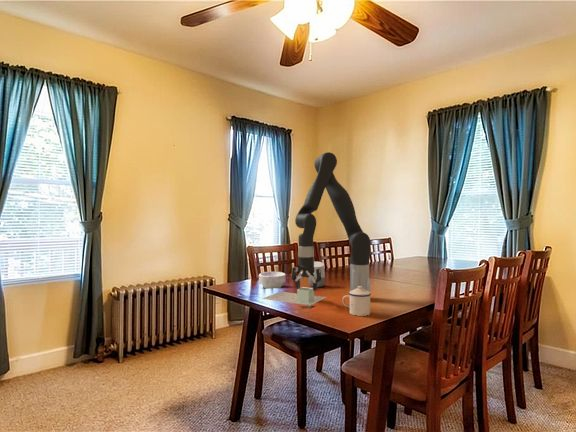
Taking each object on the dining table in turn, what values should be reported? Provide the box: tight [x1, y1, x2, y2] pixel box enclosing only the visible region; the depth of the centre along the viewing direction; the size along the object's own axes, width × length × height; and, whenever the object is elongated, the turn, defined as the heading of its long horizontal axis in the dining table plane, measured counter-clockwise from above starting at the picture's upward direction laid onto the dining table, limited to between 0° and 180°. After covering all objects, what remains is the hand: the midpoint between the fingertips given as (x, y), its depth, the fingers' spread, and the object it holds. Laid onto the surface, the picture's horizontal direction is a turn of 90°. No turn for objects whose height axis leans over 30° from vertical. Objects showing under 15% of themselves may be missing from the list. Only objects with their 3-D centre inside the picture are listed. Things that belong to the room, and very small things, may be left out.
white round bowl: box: [258, 271, 286, 290], centre depth 208 cm, size 15×15×8 cm
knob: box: [296, 286, 315, 301], centre depth 173 cm, size 6×6×5 cm
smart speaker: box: [308, 261, 326, 289], centre depth 211 cm, size 10×9×14 cm
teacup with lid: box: [341, 286, 372, 317], centre depth 155 cm, size 12×9×12 cm
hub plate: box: [261, 291, 328, 309], centre depth 176 cm, size 26×18×6 cm
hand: (306, 289), depth 173 cm, fingers open, 8 cm apart
